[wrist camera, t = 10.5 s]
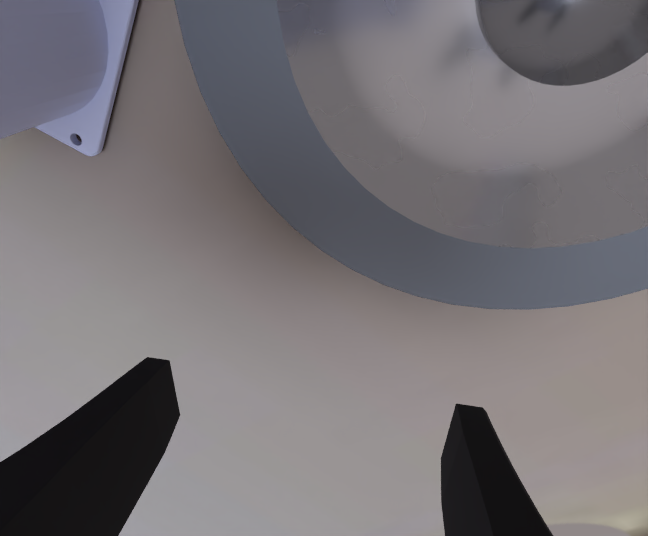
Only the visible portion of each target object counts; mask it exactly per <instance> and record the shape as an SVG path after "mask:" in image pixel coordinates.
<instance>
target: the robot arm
mask: <svg viewBox="0 0 648 536" xmlns="http://www.w3.org/2000/svg"><path fill="white" fill-rule="evenodd" d="M138 2H139V0H0V139H2V138H4V137H7V136H10V135H13V134H16V133H19V132H21V131H24V130H27V129H30V128H33V127H35V128H37V129H39V130H40V131H42V132H44V133H46V134H48V135H50V136H51V137H53V138H55V139H57V140H59V141H61V142H63V143H64V144H66V145H68V146H70V147H72V148H74V149H75V150H77V151H79V152H81V153H83V154H85V155H87V156H95V155H97V154H99V153H100V152H101V151H102V149H103V145H104V141H105V137H106V132H107V128H108V124H109V120H110V116H111V112H112V108H113V104H114V100H115V96H116V92H117V87H118V83H119V79H120V75H121V71H122V67H123V63H124V59H125V55H126V51H127V47H128V43H129V38H130V34H131V30H132V26H133V22H134V18H135V14H136V10H137V6H138ZM76 134H78V135H79V136H80V137H81V139H82V143H81V142H80V141H78V139H77V138H76ZM179 416H180V412H179V407H178V402H177V397H176V392H175V387H174V382H173V376H172V371H171V366H170V361H169V360H163V359H156V358H149V357H147V358H146V359H144V360H143V361H142V362H140V363H139V364H137V365H136V366H135V367H134V368H132V369H131V370H130V371H128V372H127V373H126V374H124V375H123V376H122V377H120V378H119V379H118V380H117V381H115V382H114V383H113V384H111V385H110V386H109V387H107V388H106V389H105V390H103V391H102V392H101V393H100V394H98V395H97V396H96V397H94V398H93V399H92V400H90V401H89V402H87V403H86V404H85V405H83V406H82V407H81V408H79V409H78V410H77V411H75V412H74V413H73V414H71V415H70V416H69V417H67V418H66V419H64V420H63V421H62V422H60V423H59V424H57V425H56V426H54V427H53V428H51V429H50V430H48V431H47V432H46V433H44V434H43V435H41V436H40V437H38V438H37V439H35V440H34V441H33V442H31V443H30V444H28V445H27V446H25V447H24V448H22V449H21V450H19V451H17V452H16V453H14V454H13V455H11V456H10V457H8V458H6V459H5V460H3V461H2V462H0V536H118V535H119V533H120V532H121V530H122V528H123V526H124V524H125V523H126V521H127V519H128V517H129V516H130V514H131V512H132V510H133V509H134V507H135V505H136V503H137V501H138V500H139V498H140V496H141V494H142V493H143V491H144V489H145V487H146V485H147V484H148V482H149V480H150V478H151V476H152V475H153V473H154V471H155V469H156V467H157V466H158V464H159V462H160V460H161V458H162V456H163V455H164V453H165V450H166V448H167V446H168V443H169V441H170V439H171V436H172V434H173V431H174V429H175V426H176V424H177V421H178V419H179ZM441 502H442V512H443V521H444V529H445V536H553V535H552V533H551V532H550V530H549V528H548V527H547V525H546V524H545V522H544V520H543V519H542V517H541V515H540V514H539V512H538V510H537V509H536V507H535V505H534V503H533V502H532V500H531V498H530V496H529V495H528V493H527V491H526V489H525V488H524V486H523V484H522V482H521V481H520V479H519V477H518V475H517V473H516V471H515V470H514V468H513V466H512V464H511V462H510V460H509V458H508V456H507V454H506V452H505V450H504V448H503V446H502V444H501V442H500V440H499V438H498V436H497V434H496V432H495V430H494V428H493V426H492V424H491V421H490V419H489V417H488V415H487V412H486V411H485V410H484V409H483V408H482V407H475V406H468V405H462V404H456V406H455V410H454V413H453V417H452V421H451V424H450V428H449V431H448V435H447V439H446V442H445V446H444V449H443V453H442V457H441Z"/></svg>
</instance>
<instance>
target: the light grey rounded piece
mask: <svg viewBox="0 0 648 536" xmlns="http://www.w3.org/2000/svg"><path fill="white" fill-rule="evenodd" d="M277 7H278V13H279V19H280V24H281V30H282V36H283V42H284V47H285V50H286V53H287V57H288V60H289V64H290V67H291V70H292V74H293V77H294V80H295V83H296V85H297V88H298V90H299V92H300V95H301V97H302V99H303V102H304V104H305V107H306V109H307V111H308V114H309V115H310V117H311V119H312V120H313V122H314V124H315V126H316V127H317V129H318V131H319V132H320V134H321V136H322V138H323V139H324V141H325V143H326V144H327V145H328V147H329V148H330V149H331V151H332V152H333V153H334V154H335V156H336V157H337V158H338V160H339V161H340V162H341V164H342V165H343V166H344V167H345V168H346V169H347V171H348V172H349V173H350V174H351V175H352V176H353V177H354V178H355V179H356V180H357V181H358V182H359V183H360V184H361V185H362V186H363V187H364V188H365V189H367V190H368V191H369V192H370V193H372V194H373V195H374V196H375V197H377V198H378V199H379V200H381V201H382V202H383V203H384V204H386V205H387V206H388V207H390V208H392V209H393V210H395V211H397V212H398V213H400V214H402V215H403V216H405V217H407V218H408V219H410V220H412V221H413V222H416V223H418V224H420V225H423V226H425V227H427V228H430V229H432V230H434V231H436V232H439V233H441V234H445V235H448V236H452V237H455V238H458V239H462V240H465V241H468V242H474V243H480V244H486V245H492V246H498V247H514V248H546V247H563V246H570V245H576V244H582V243H589V242H595V241H599V240H603V239H607V238H611V237H615V236H619V235H623V234H626V233H630V232H633V231H636V230H639V229H642V228H644V227H647V226H648V0H277Z"/></svg>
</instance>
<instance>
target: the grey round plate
mask: <svg viewBox="0 0 648 536" xmlns="http://www.w3.org/2000/svg"><path fill="white" fill-rule="evenodd" d="M175 5H176V9H177V14H178V18H179V22H180V27H181V31H182V36H183V40H184V44H185V48H186V51H187V53H188V56H189V59H190V62H191V65H192V68H193V71H194V74H195V77H196V80H197V83H198V86H199V89H200V92H201V94H202V96H203V98H204V100H205V102H206V104H207V107H208V109H209V111H210V113H211V115H212V117H213V119H214V122H215V124H216V126H217V128H218V130H219V132H220V134H221V136H222V137H223V139H224V141H225V142H226V144H227V146H228V147H229V149H230V150H231V152H232V154H233V155H234V157H235V159H236V160H237V162H238V164H239V165H240V167H241V169H242V170H243V171H244V172H245V174H246V175H247V176H248V178H249V179H250V180H251V181H252V183H253V184H254V185H255V187H256V188H257V189H258V190H259V192H260V193H261V194H262V196H263V197H264V198H265V199H266V201H267V202H268V203H269V204H270V205H271V206H272V207H273V208H274V209H275V210H276V211H277V212H278V213H279V214H280V215H281V216H282V217H283V218H284V219H285V220H286V221H287V222H288V223H289V224H290V225H291V226H292V227H293V228H294V229H296V230H297V231H298V232H299V233H300V234H302V235H303V236H304V237H305V238H307V239H308V240H309V241H310V242H312V243H313V244H314V245H315V246H317V247H318V248H319V249H320V250H322V251H323V252H325V253H326V254H328V255H330V256H331V257H333V258H334V259H336V260H338V261H339V262H341V263H342V264H344V265H345V266H347V267H349V268H350V269H352V270H354V271H356V272H358V273H360V274H362V275H364V276H367V277H369V278H371V279H373V280H375V281H377V282H379V283H381V284H383V285H386V286H389V287H392V288H395V289H397V290H400V291H403V292H406V293H409V294H412V295H415V296H418V297H422V298H427V299H431V300H435V301H440V302H444V303H448V304H453V305H461V306H470V307H478V308H487V309H540V308H553V307H565V306H573V305H578V304H584V303H589V302H595V301H601V300H606V299H612V298H615V297H619V296H622V295H626V294H630V293H633V292H637V291H641V290H644V289H648V226H647V227H644V228H642V229H639V230H636V231H633V232H630V233H626V234H623V235H619V236H615V237H611V238H607V239H603V240H599V241H595V242H589V243H582V244H576V245H570V246H563V247H546V248H514V247H498V246H492V245H486V244H480V243H474V242H468V241H465V240H462V239H458V238H455V237H452V236H448V235H445V234H441V233H439V232H436V231H434V230H432V229H430V228H427V227H425V226H423V225H420V224H418V223H416V222H413V221H412V220H410V219H408V218H407V217H405V216H403V215H402V214H400V213H398V212H397V211H395V210H393V209H392V208H390V207H388V206H387V205H386V204H384V203H383V202H382V201H381V200H379V199H378V198H377V197H375V196H374V195H373V194H372V193H370V192H369V191H368V190H367V189H365V188H364V187H363V186H362V185H361V184H360V183H359V182H358V181H357V180H356V179H355V178H354V177H353V176H352V175H351V174H350V173H349V172H348V171H347V169H346V168H345V167H344V166H343V165H342V164H341V162H340V161H339V160H338V158H337V157H336V156H335V154H334V153H333V152H332V151H331V149H330V148H329V147H328V145H327V144H326V143H325V141H324V139H323V138H322V136H321V134H320V132H319V131H318V129H317V127H316V126H315V124H314V122H313V120H312V119H311V117H310V115H309V114H308V111H307V109H306V107H305V104H304V102H303V99H302V97H301V95H300V92H299V90H298V88H297V85H296V83H295V80H294V77H293V74H292V70H291V67H290V64H289V60H288V57H287V53H286V50H285V47H284V42H283V36H282V30H281V24H280V19H279V13H278V7H277V0H175Z"/></svg>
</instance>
